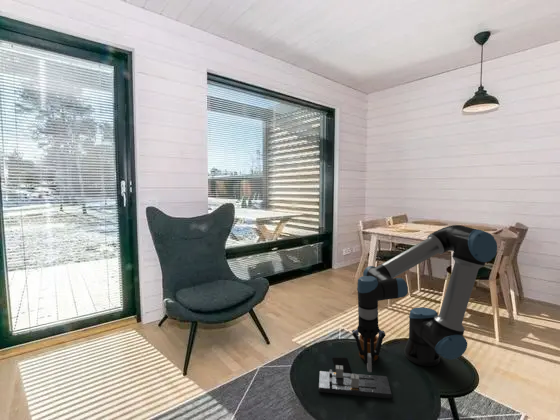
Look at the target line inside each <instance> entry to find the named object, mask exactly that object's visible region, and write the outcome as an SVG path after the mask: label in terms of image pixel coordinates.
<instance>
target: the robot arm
mask: <svg viewBox="0 0 560 420" xmlns="http://www.w3.org/2000/svg"><path fill="white" fill-rule="evenodd" d="M446 252H453V253H452V256H451V257H452V259H453V260H454V264H453V267H452V270H451V271H452V272H451V273H450V277H449V280H448V285H447V288H446V291H445V294H444V297H443V300H442V304H441V308H440V312H439V313H438V311H436V310H435V309H433V308H430V307H414V308H412V309H410V311H409V316H408V318H409V319H408V321H409V322H408V323H409V325H408V329H409V330H408V340H407V342H406V344H405V346H404V352H403V353H404V356H405V358H406V359H407V360H409V361H410V362H412V363H413V364H416V365H419V366H423V367H435V366H437V365H438V364H440V361H441V357H442V358H444V359H446V360H456V359H458V358H460V357H461V356H463V355H464V354H465V353H466V351H467V349H468V341H467V339H466V338H465V336H464V335H465V334H464V333H465V327H464V326H463V321H464V318H465V314H466V312H467V308H468V304H469V301H470V298H471V295H472V292H473V289H474V286H475V282H476V279H477V277H478V272H479V270H480V269H481V268H483V267H485V266H486V263H487V262H491V261H492V259H494V258H495V257H496V255H497V252H498V242H497V240H496V239H495V237H494V235H492V234H491V233H489V232H487V231H485V230H481V229H476V228H473V227H470V226H464V225H460V224H453V225H449V226H445V227H443V228H441V229H440V228H439V229H437V230H436V231H434V232H432V233H430V234H428V235H427V238H426V239H424V240H422V241H421V242H418V243H416V245H413V246H411V247H410V248H408V249H406V250H405V251H402V252H401V253H398V254H397V255H396V256H394V257H392V258H390V259H388V260H386V261H385V262H382V263H381V264H379V265H377V266H374V265H370V266H366V268H364V270H363V273H362V276H360V277H359V278H358V279H357V288H356V289H357V302H358V303H357V309H358V311H357V314H358V316H357V318H358V326H357V327H356V329H352V330H351V333H352V337H354V339H355V343H356V346H357V349H358V354H359V353H360V355H364V359H363V361H364V364H366V369H367V373H372V371H373V370H372V369H373V365H372V364H375V361H374V357H375V355H377V356H378V357H379V355H380V352H381V349H382V344H383V340H384V339H385V337H386V332H385V331H384V330H381V329H380V327H379V302H380V301H381V302H382V301H385V300H394V299H400V298H404V297H406V296H407V295H408V292H409V291H408V289H409V288H408V287H409V286H408V284H407V282H406V280H405V279H404V278H402V277H397V276H400V275H401V274H403V273H405V272H407V271H410V270H411V269H412V268H414V267H416V266H417V265H419V264H421V263H423V262H425V261H426V260H428V259H430V258H432V257H434V256H435V255H438V254H440V255H441V254H444V253H446ZM359 334H360V335H362V337H363V339H364V350H362V347H361V344H360V341H359V336H360V335H359ZM375 336H377V337H378V340H377V344H376V348H375V351H374V338H375ZM368 338H370V352H371V353H368V350H367V339H368Z"/></svg>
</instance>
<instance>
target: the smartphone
mask: <svg viewBox="0 0 560 420" xmlns="http://www.w3.org/2000/svg"><path fill="white" fill-rule="evenodd" d="M331 360H332V364H333V369H334V372H336V365H340V366H343V373H350V374H353V372H352V369H351V365H350V363H349V359H348V358H347V357H333V358H332V359H331Z"/></svg>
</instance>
